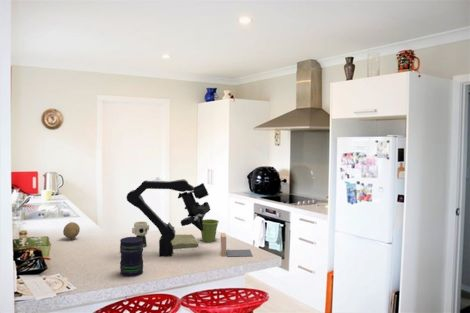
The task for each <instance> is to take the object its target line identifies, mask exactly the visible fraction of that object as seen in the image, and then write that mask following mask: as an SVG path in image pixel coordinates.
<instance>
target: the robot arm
mask: <svg viewBox="0 0 470 313" xmlns="http://www.w3.org/2000/svg"><path fill="white" fill-rule="evenodd" d="M148 189H149V190H150V189H151V190H172V191H176V192H179V193H178V196H177V199H178V200H179V199H182V201H183V203H184V210H186V211H187V213H188V214H187V217H185V218H183V219H181V220H180V225H181V226H182V227H185V226H190V225H193V226H194V227H196V228H197V230H199V231H200V232H201V231H203V220H204V217H205V216H206V214H207V213H209V212H210V211H211V207H210V204H209V202H208V201H205V202H203V203H202V204H200V202H199V201H196V199H197V200H200V199H202V198H205V197H208V196H209V192H208V190H207V188H206V186H205V184H204V182H201V184H198V185H196V186H193V185H191V184H190V183H189V182H188V181H187V180H186V179H182V178H181V179H175V180H172V181H171V180H170V181H167V180H166V181H165V180H163V181H162V180H160V181H159V180H143V181H142V182H141V183H140V185H139V186H138V187H137V188H135V189H132V190H130V191H129V192H128V193H127V194H126V201H127V202H128V203H129V204H131V205H132V206H133V207H134V208H135V207H136V208H137V209H139V210H140V211H141V212H142V213H143V215H144V216H146V217H147V219H148V220H150V222H151V223H152V224H153V225H154V226H156V228H157V229H158V231H159V233H160V237H159V240H158V250H159V252H158V256H159V257H172V256H173V254H174V249H173V245H172V242H171V241H172V240H173V239H174V237H175V235H176V230H175V226H173V225H172V224H171V223H170V222H168V223H166V222H165V221H164V220H162V219H161V217H159V215H157V213H156V212H154V210H153V209H152V208H151V207H150V205H148V204H147V203H146V202H145V199H144V198H143V196H142V194H143V193H144V192H145V191H146V190H148Z"/></svg>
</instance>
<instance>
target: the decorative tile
mask: <svg viewBox="0 0 470 313" xmlns="http://www.w3.org/2000/svg"><path fill="white" fill-rule="evenodd" d="M171 242H172V245H173V250H181V249H182V248H183V249H193V248H194V249H196V248H197V247H198V248H199V242H198V240H197V238H196V237H195V236H194V235H193V234H187V233H186V234H175V237H174V239H173V240H172V241H171ZM198 248H197V249H198Z"/></svg>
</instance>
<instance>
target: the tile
mask: <svg viewBox="0 0 470 313" xmlns="http://www.w3.org/2000/svg"><path fill="white" fill-rule="evenodd" d="M226 250H227V234H226V232H221V233H220V256H221V257H227V255H226Z"/></svg>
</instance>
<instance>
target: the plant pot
mask: <svg viewBox="0 0 470 313" xmlns="http://www.w3.org/2000/svg"><path fill="white" fill-rule="evenodd" d="M218 224H219V220H217V219H211V218H210V219H207V218H206V219H203V231H200V232H201V233H200V234H201V240H202V242H206V243H212V242H214V241H216V235H217V234H216V233H217V228H218Z"/></svg>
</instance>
